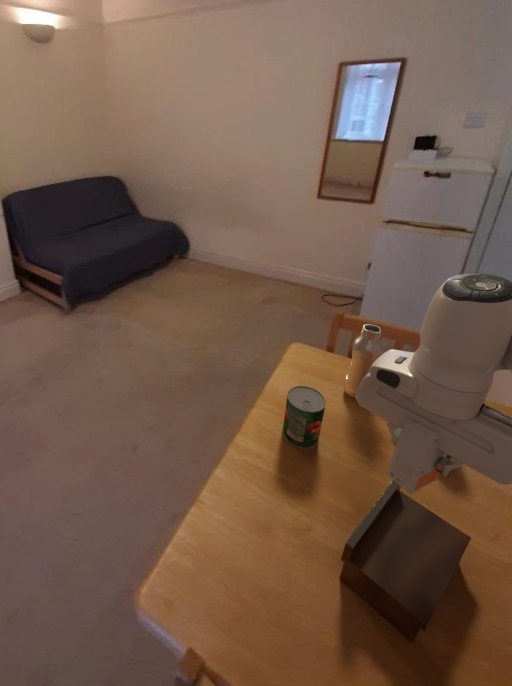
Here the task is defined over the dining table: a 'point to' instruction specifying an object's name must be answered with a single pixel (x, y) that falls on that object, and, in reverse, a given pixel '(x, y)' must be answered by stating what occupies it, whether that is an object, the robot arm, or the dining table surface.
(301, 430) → the canned tomato
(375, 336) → the plastic bottle
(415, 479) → the cosmetic box
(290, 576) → the dining table surface
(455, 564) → the dark brown plinth
